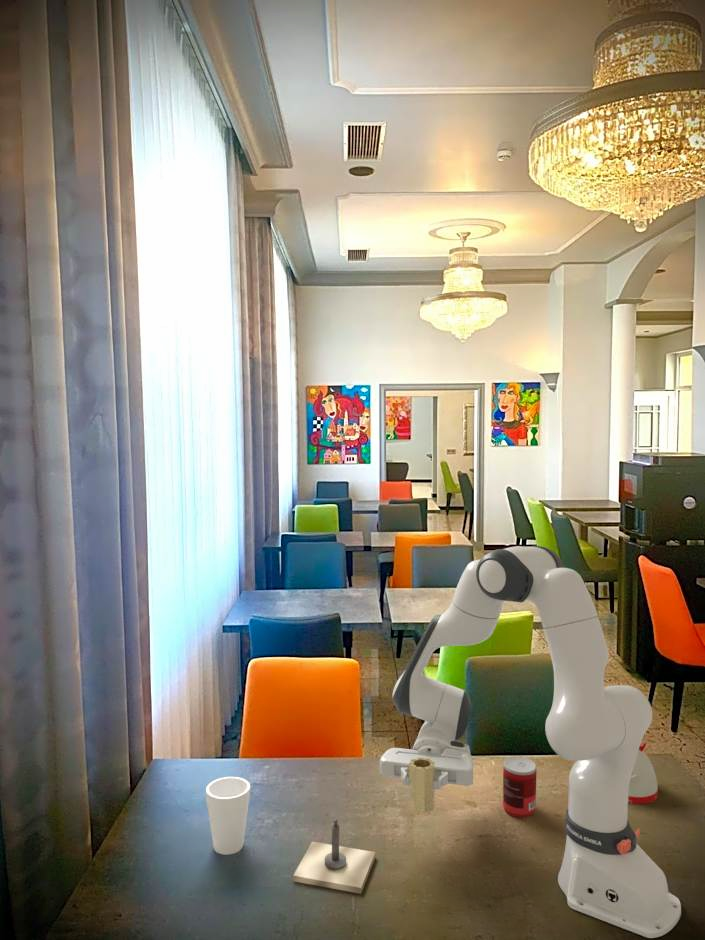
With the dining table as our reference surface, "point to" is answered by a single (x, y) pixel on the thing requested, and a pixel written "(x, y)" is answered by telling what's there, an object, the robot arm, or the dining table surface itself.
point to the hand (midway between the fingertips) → (421, 784)
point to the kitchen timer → (642, 780)
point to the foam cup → (228, 813)
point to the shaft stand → (335, 865)
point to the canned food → (519, 787)
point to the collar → (421, 784)
